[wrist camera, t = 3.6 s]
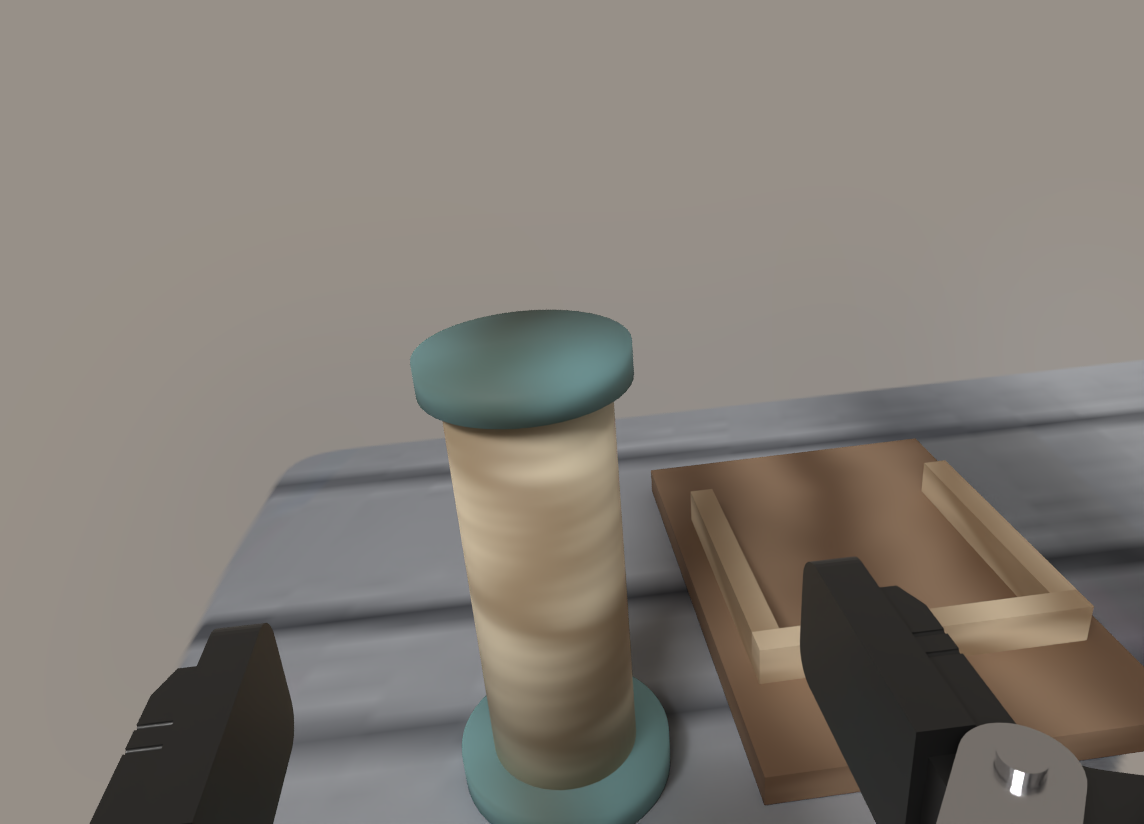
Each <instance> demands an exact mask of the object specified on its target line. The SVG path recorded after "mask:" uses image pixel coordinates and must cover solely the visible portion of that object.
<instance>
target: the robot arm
mask: <svg viewBox="0 0 1144 824" xmlns="http://www.w3.org/2000/svg"><path fill="white" fill-rule="evenodd" d="M800 655H801V661H802V666H803V671H804V674H805V678H806V680H807V683H808V685H809V688H810V690H811V692H812V694H813V696H814V698H815V700H816V702H817V704H818V706H819V708H820V710H821V712H822V714H823V716H824V718H825V720H826V722H827V724H828V726H829V728H830V730H831V732H832V734H833V736H834V738H835V740H836V743H837V745H838V747H839V749H840V751H841V753H842V755H843V757H844V759H845V761H846V763H847V765H848V767H849V769H850V771H851V773H852V775H853V777H854V779H855V781H856V783H857V785H858V787H859V789H860V791H861V793H862V795H863V797H864V799H865V801H866V803H867V805H868V808H869V810H870V812H871V814H872V816H873V818H874V820H875V822H876V824H1144V776H1143V775H1135V774H1128V773H1120V772H1112V771H1105V770H1099V769H1093V768H1088V767H1085V766H1082V765H1081V763H1080V762H1079V761H1078V759H1077V758H1076V757H1075V755H1074V754H1073V753H1072V752H1071V751H1070V750H1069V749H1068V748H1066V747H1065V746H1064V745H1062V744H1061V743H1060V742H1058V741H1057V740H1055V739H1054V738H1052V737H1050V736H1048V735H1046V734H1044V733H1042V732H1040V731H1038V730H1035V729H1032V728H1030V727H1026V726H1022V725H1018V724H1016V723H1015V722H1014V720H1013V719H1012V718H1011V716H1010V715H1009V714H1008V712H1007V711H1006V710H1005V708H1004V707H1003V706H1002V704H1001V703H1000V702H999V700H998V699H997V698H996V696H995V695H994V694H993V693H992V691H991V690H990V689H989V687H988V686H987V685H986V683H985V682H984V681H983V679H982V678H981V677H980V675H979V674H978V673H977V671H976V670H975V669H974V667H973V666H972V665H971V663H970V662H969V661H968V660H967V658H966V657H965V656H964V654H963V653H962V654H960V652H959V648H958V646H957V645H956V644H955V642H954V641H953V640H952V638H951V637H950V636H949V634H948V633H947V634H945V632H944V628H943V627H942V625H941V624H940V623H939V621H938V620H937V619H936V617H935V616H934V615H933V613H932V612H931V611H930V609H929V608H928V607H927V605H926V604H924V603H923V602H921V601H920V600H918V599H917V598H915V597H914V596H912V595H910V594H909V593H907V592H906V591H904V590H903V589H901V588H900V587H898V586H897V585H896V586H887V587H879V586H878V584H877V583H876V581H875V580H874V579H873V577H872V576H871V574H870V573H869V571H868V570H867V569H866V567H865V566H864V564H863V563H862V561H861V560H860V559H859V558H858V557H845V558H837V559H828V560H820V561H811V562H807V563H806V564H805V566H804V570H803V583H802V604H801V626H800ZM293 738H294V714H293V707H292V702H291V698H290V694H289V690H288V686H287V682H286V678H285V674H284V671H283V667H282V663H281V659H280V655H279V651H278V647H277V644H276V640H275V636H274V633H273V630H272V628H271V626H270V625H269V624H268V623H262V624H253V625H245V626H236V627H227V628H219V629H215V630H213V632H212V633H211V635H210V637H209V639H208V641H207V644H206V646H205V648H204V651H203V653H202V655H201V658H200V660H199V662H198V665H197V666H195V667H187V668H178V669H177V670H176V671H175V672H174V673H173V674H172V675H171V676H170V677H169V678H168V679H167V680H166V681H165V682H164V683H163V684H162V685H161V686H160V687H159V688H158V689H157V690H156V691H155V692H154V693H153V694H152V695H151V696H150V698H149V700H148V702H147V705H146V707H145V709H144V711H143V713H142V715H141V717H140V719H139V722H138V723H137V730H135V731H134V732H133V734H132V736H131V738H130V740H129V742H128V744H127V747H126V748H125V749H126V753H125V755H122V757H121V759H120V761H119V763H118V765H117V767H116V769H115V771H114V774H113V776H112V778H111V780H110V782H109V784H108V786H107V788H106V790H105V792H104V794H103V797H102V799H101V801H100V803H99V805H98V807H97V809H96V811H95V813H94V815H93V818H92V820H91V822H90V824H273V822H274V818H275V814H276V810H277V806H278V802H279V798H280V794H281V790H282V786H283V782H284V778H285V774H286V770H287V766H288V762H289V758H290V754H291V750H292V746H293Z"/></svg>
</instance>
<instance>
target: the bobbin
mask: <svg viewBox="0 0 1144 824" xmlns="http://www.w3.org/2000/svg"><path fill="white" fill-rule="evenodd" d="M410 365H411V371H412V377H413V383H414V388H415V394H416V399H417V402H418V404H419V406H420V407H421V408H422V409H423V410H424V411H425V412H426V413H427V414H429V415H431V416H433V417H434V418H436V419H439V420H442V421H443V427H444V433H445V439H446V446H447V452H448V458H449V464H450V470H451V477H452V483H453V489H454V495H455V502H456V508H457V514H458V520H459V527H460V533H461V539H462V545H463V552H464V558H465V564H466V570H467V576H468V583H469V589H470V595H471V601H472V608H473V614H474V620H475V626H476V633H477V639H478V645H479V651H480V658H481V664H482V670H483V676H484V682H485V689H486V696H485V697H484V698H483V699H482V700H481V701H480V703H479V704H478V705H477V706H476V708H475V709H474V711H473V712H472V714H471V716H470V717H469V720H468V722H467V724H466V727H465V730H464V734H463V740H462V757H463V762H464V768H465V773H466V779H467V784H468V788H469V792H470V795H471V797H472V799H473V802H474V804H475V805H476V807H477V808H478V810H479V811H480V813H481V814H482V815H483V816H484V817H485V818H486V819H487V821H488V822H490V823H491V824H635V823H636V822H637V821H638V820H640V819H641V818H642V817H643V816H644V815H645V814H646V813H647V812H648V811H649V810H650V809H651V808H652V807H653V805H654V804H655V803H656V801H657V800H658V798H659V797H660V795H661V793H662V791H663V789H664V787H665V785H666V782H667V779H668V775H669V769H670V742H669V726H668V721H667V717H666V714H665V711H664V709H663V707H662V705H661V703H660V702H659V700H658V699H657V697H656V696H655V695H654V693H653V692H652V691H651V690H650V689H649V688H648V687H647V686H646V685H644V684H643V683H642V682H640V681H639V680H638V679H636V678H635V677H633V676H632V662H631V648H630V633H629V618H628V604H627V589H626V574H625V560H624V545H623V530H622V516H621V501H620V486H619V471H618V457H617V442H616V427H615V413H614V401H615V400H616V399H618V398H620V397H621V396H622V395H623V394H624V393H625V392H626V391H627V389H628V388H629V387H630V386H631V384H632V381H633V376H634V368H633V350H632V338H631V334H630V333H629V331H628V330H627V329H626V328H625V327H623V325H621V324H620V323H618V322H616V321H614V320H612V319H609V318H606V317H603V316H600V315H595V314H591V313H585V312H579V311H568V310H529V311H518V312H510V313H502V314H497V315H491V316H487V317H482V318H478V319H474V320H470V321H467V322H463V323H460V324H457V325H455V326H452V327H449V328H447V329H445V330H442V331H440V332H438V333H436V334H434V335H433V336H431V337H429V338H428V339H426V340H425V341H424V342H422V343H421V344H420V345H419V346H418V347H417V348H416V349H415V351H414V352H413V354H412V356H411V359H410Z"/></svg>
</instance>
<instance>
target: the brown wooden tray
mask: <svg viewBox="0 0 1144 824" xmlns="http://www.w3.org/2000/svg"><path fill="white" fill-rule="evenodd" d="M651 479H652V492H653V495H654V497H655V500H656V503H657V506H658V509H659V511H660V514H661V517H662V520H663V523H664V525H665V528H666V531H667V534H668V537H669V539H670V542H671V545H672V548H673V551H674V553H675V556H676V559H677V562H678V565H679V567H680V570H681V573H682V576H683V578H684V581H685V584H686V587H687V590H688V592H689V595H690V598H691V601H692V604H693V606H694V609H695V612H696V615H697V618H698V620H699V623H700V626H701V629H702V632H703V634H704V637H705V640H706V643H707V646H708V648H709V651H710V654H711V657H712V660H713V662H714V665H715V668H716V671H717V674H718V676H719V679H720V682H721V685H722V687H723V690H724V693H725V696H726V699H727V701H728V704H729V707H730V710H731V713H732V715H733V718H734V721H735V724H736V727H737V729H738V732H739V735H740V738H741V741H742V743H743V746H744V749H745V752H746V755H747V757H748V760H749V763H750V766H751V769H752V771H753V774H754V777H755V780H756V783H757V785H758V788H759V791H760V794H761V796H762V799H763V802H764V805H769V804H776V803H783V802H790V801H797V800H804V799H811V798H818V797H825V796H832V795H839V794H846V793H853V792H861V791H860V789H859V787H858V785H857V783H856V781H855V779H854V777H853V775H852V773H851V771H850V769H849V767H848V765H847V763H846V761H845V759H844V757H843V755H842V753H841V751H840V749H839V747H838V745H837V743H836V740H835V738H834V736H833V734H832V732H831V730H830V728H829V726H828V724H827V722H826V720H825V718H824V716H823V714H822V712H821V710H820V708H819V706H818V704H817V702H816V700H815V698H814V696H813V694H812V692H811V690H810V688H809V685H808V683H807V680H806V678H805V674H804V671H803V666H802V661H801V655H800V626H801V604H802V583H803V570H804V566H805V564H806V563H807V562H811V561H820V560H828V559H837V558H845V557H858V558H859V559H860V560H861V561H862V563H863V564H864V566H865V567H866V569H867V570H868V571H869V573H870V574H871V576H872V577H873V579H874V580H875V581H876V583H877V584H878V586H879V587H887V586H896V585H897V586H898V587H900V588H901V589H903V590H904V591H906V592H907V593H909V594H910V595H912V596H914V597H915V598H917V599H918V600H920V601H921V602H923V603H924V604H926V605H927V607H928V608H929V609H930V611H931V612H932V613H933V615H934V616H935V617H936V619H937V620H938V621H939V623H940V624H941V625H942V627H943V628H944V632H945V634H947V633H948V634H949V636H950V637H951V638H952V640H953V641H954V642H955V644H956V645H957V646H958V648H959V652H960V654H962V653H963V654H964V656H965V657H966V658H967V660H968V661H969V662H970V663H971V665H972V666H973V667H974V669H975V670H976V671H977V673H978V674H979V675H980V677H981V678H982V679H983V681H984V682H985V683H986V685H987V686H988V687H989V689H990V690H991V691H992V693H993V694H994V695H995V696H996V698H997V699H998V700H999V702H1000V703H1001V704H1002V706H1003V707H1004V708H1005V710H1006V711H1007V712H1008V714H1009V715H1010V716H1011V718H1012V719H1013V720H1014V722H1015V723H1016V724H1018V725H1022V726H1026V727H1030V728H1032V729H1035V730H1038V731H1040V732H1042V733H1044V734H1046V735H1048V736H1050V737H1052V738H1054V739H1055V740H1057V741H1058V742H1060V743H1061V744H1062V745H1064V746H1065V747H1066V748H1068V749H1069V750H1070V751H1071V752H1072V753H1073V754H1074V755H1075V757H1076V758H1077V759H1078V761H1079V760H1086V759H1093V758H1100V757H1107V756H1114V755H1122V754H1129V753H1136V752H1143V751H1144V667H1143V666H1142V665H1141V664H1140V663H1139V662H1138V661H1137V660H1136V659H1135V658H1134V657H1133V656H1132V655H1131V654H1130V653H1129V652H1128V651H1127V650H1126V649H1125V648H1124V647H1123V646H1122V645H1121V644H1120V643H1119V642H1118V641H1117V640H1116V639H1115V638H1114V637H1113V636H1112V635H1111V634H1110V633H1109V632H1108V631H1107V630H1106V629H1105V628H1104V627H1103V626H1102V625H1101V624H1100V623H1099V622H1098V621H1097V620H1096V619H1095V618H1094V617H1093V616H1092V613H1093V608H1094V606H1093V605H1092V604H1091V603H1090V602H1089V601H1088V600H1087V599H1086V598H1085V597H1084V596H1083V595H1082V594H1081V593H1080V592H1079V591H1078V590H1077V589H1076V588H1075V587H1073V586H1072V585H1071V584H1070V583H1069V582H1068V581H1067V580H1066V579H1065V578H1064V577H1063V576H1062V575H1061V574H1060V573H1059V572H1058V571H1057V570H1056V569H1055V568H1054V567H1053V566H1052V565H1051V564H1050V563H1049V562H1048V561H1047V560H1046V559H1045V558H1044V557H1043V556H1042V555H1041V554H1040V553H1039V552H1038V551H1037V550H1036V549H1035V548H1034V547H1033V546H1032V545H1031V544H1030V543H1029V542H1028V541H1027V540H1026V539H1025V538H1024V537H1023V536H1022V535H1021V534H1020V533H1019V532H1017V531H1016V530H1015V529H1014V528H1013V527H1012V526H1011V525H1010V524H1009V523H1008V522H1007V521H1006V520H1005V519H1004V518H1003V517H1002V516H1001V515H1000V514H999V513H998V512H997V511H996V510H995V509H994V508H993V507H992V506H991V505H990V504H989V503H988V502H987V501H986V500H985V499H984V498H983V497H982V496H981V495H980V494H979V493H978V492H977V491H976V490H975V489H974V488H973V487H972V486H971V485H970V484H969V483H968V482H967V481H966V480H965V479H964V478H962V477H961V476H960V475H959V474H958V473H957V472H956V471H955V470H954V469H953V468H952V467H951V466H950V465H949V464H948V463H947V462H946V461H937V460H936V459H935V458H934V457H933V456H932V455H931V454H930V453H929V452H928V451H927V450H926V449H925V448H924V447H923V446H922V445H921V444H920V443H919V442H918V441H917V440H916V439H908V440H900V441H892V442H883V443H875V444H867V445H859V446H850V447H842V448H834V449H825V450H817V451H809V452H801V453H792V454H784V455H776V456H767V457H759V458H751V459H742V460H734V461H726V462H718V463H709V464H701V465H693V466H684V467H676V468H668V469H660V470H651Z"/></svg>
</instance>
